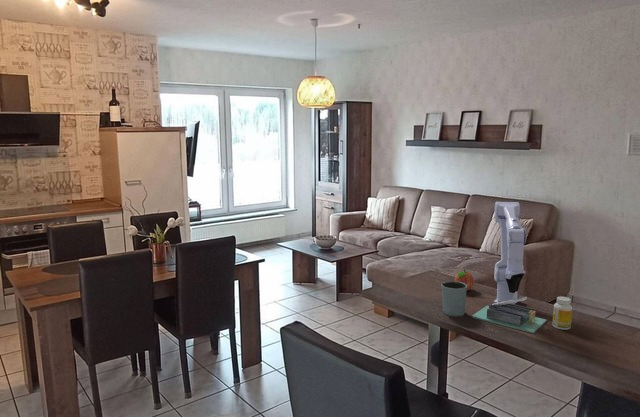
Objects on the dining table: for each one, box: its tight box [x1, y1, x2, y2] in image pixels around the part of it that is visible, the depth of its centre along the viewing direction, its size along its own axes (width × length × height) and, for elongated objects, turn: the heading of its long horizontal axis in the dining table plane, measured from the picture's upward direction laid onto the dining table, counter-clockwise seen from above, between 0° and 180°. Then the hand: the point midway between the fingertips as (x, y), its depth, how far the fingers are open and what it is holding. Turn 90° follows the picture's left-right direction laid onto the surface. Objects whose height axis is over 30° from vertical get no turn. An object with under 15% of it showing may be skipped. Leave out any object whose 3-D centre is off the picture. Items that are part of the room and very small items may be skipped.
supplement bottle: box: [551, 295, 573, 331], centre depth 183 cm, size 6×6×11 cm
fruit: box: [454, 269, 475, 291], centre depth 226 cm, size 9×10×10 cm
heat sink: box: [487, 301, 537, 327], centre depth 191 cm, size 12×17×5 cm
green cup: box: [440, 280, 467, 317], centre depth 199 cm, size 10×10×12 cm
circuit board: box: [471, 305, 547, 334], centre depth 192 cm, size 15×24×1 cm, turn 48°
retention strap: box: [491, 296, 528, 307], centre depth 191 cm, size 14×2×1 cm, turn 48°
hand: (513, 291), depth 193 cm, fingers open, 2 cm apart
